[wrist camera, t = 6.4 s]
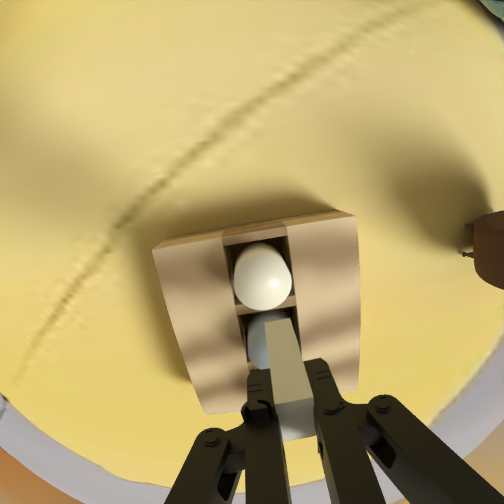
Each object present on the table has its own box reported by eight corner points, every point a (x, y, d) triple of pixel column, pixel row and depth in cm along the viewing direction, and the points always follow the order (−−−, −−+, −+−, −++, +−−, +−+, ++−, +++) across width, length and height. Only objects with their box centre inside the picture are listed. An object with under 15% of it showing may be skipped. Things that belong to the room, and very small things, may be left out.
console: (166, 238, 28) (151, 250, 23) (337, 209, 28) (355, 215, 23) (208, 388, 33) (205, 414, 28) (345, 365, 33) (357, 389, 28)
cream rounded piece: (231, 247, 25) (228, 261, 20) (280, 239, 25) (287, 251, 20) (239, 292, 26) (239, 314, 22) (286, 284, 26) (294, 305, 22)
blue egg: (243, 311, 27) (243, 335, 22) (288, 303, 27) (296, 326, 22) (251, 348, 28) (252, 374, 23) (293, 341, 28) (300, 366, 23)
